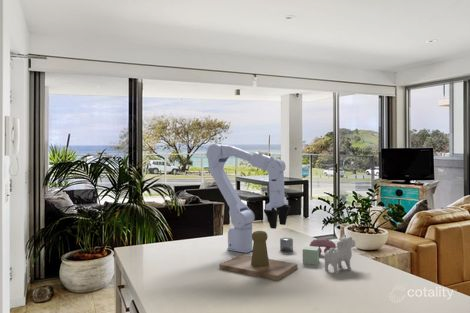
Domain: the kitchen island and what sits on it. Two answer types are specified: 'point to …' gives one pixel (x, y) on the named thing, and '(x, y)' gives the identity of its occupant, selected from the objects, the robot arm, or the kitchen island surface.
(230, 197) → the robot arm
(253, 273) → the walnut board
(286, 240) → the grey domed cylinder
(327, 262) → the dog figurine
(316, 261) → the sage block
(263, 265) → the olive peg
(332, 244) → the pink toy figurine
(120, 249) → the kitchen island surface
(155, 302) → the kitchen island surface
